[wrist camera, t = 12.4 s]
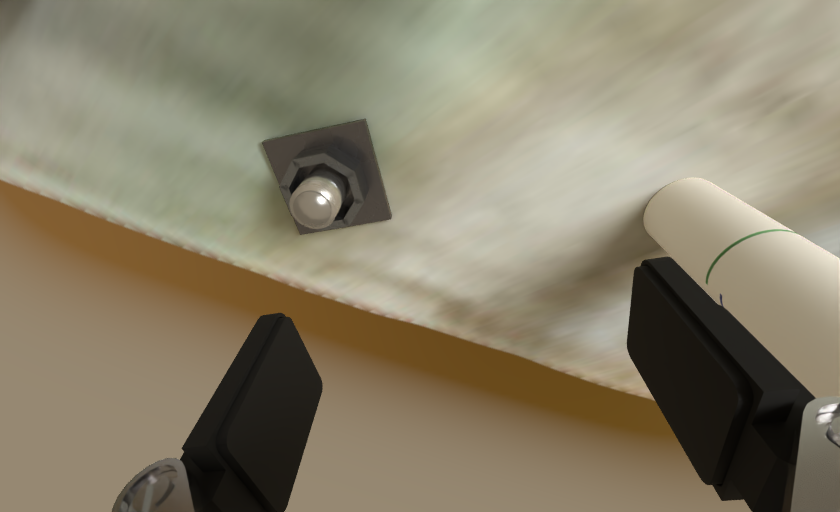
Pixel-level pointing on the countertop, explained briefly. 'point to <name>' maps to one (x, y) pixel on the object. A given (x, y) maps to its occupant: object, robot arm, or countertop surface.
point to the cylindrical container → (756, 275)
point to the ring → (341, 164)
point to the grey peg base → (329, 176)
